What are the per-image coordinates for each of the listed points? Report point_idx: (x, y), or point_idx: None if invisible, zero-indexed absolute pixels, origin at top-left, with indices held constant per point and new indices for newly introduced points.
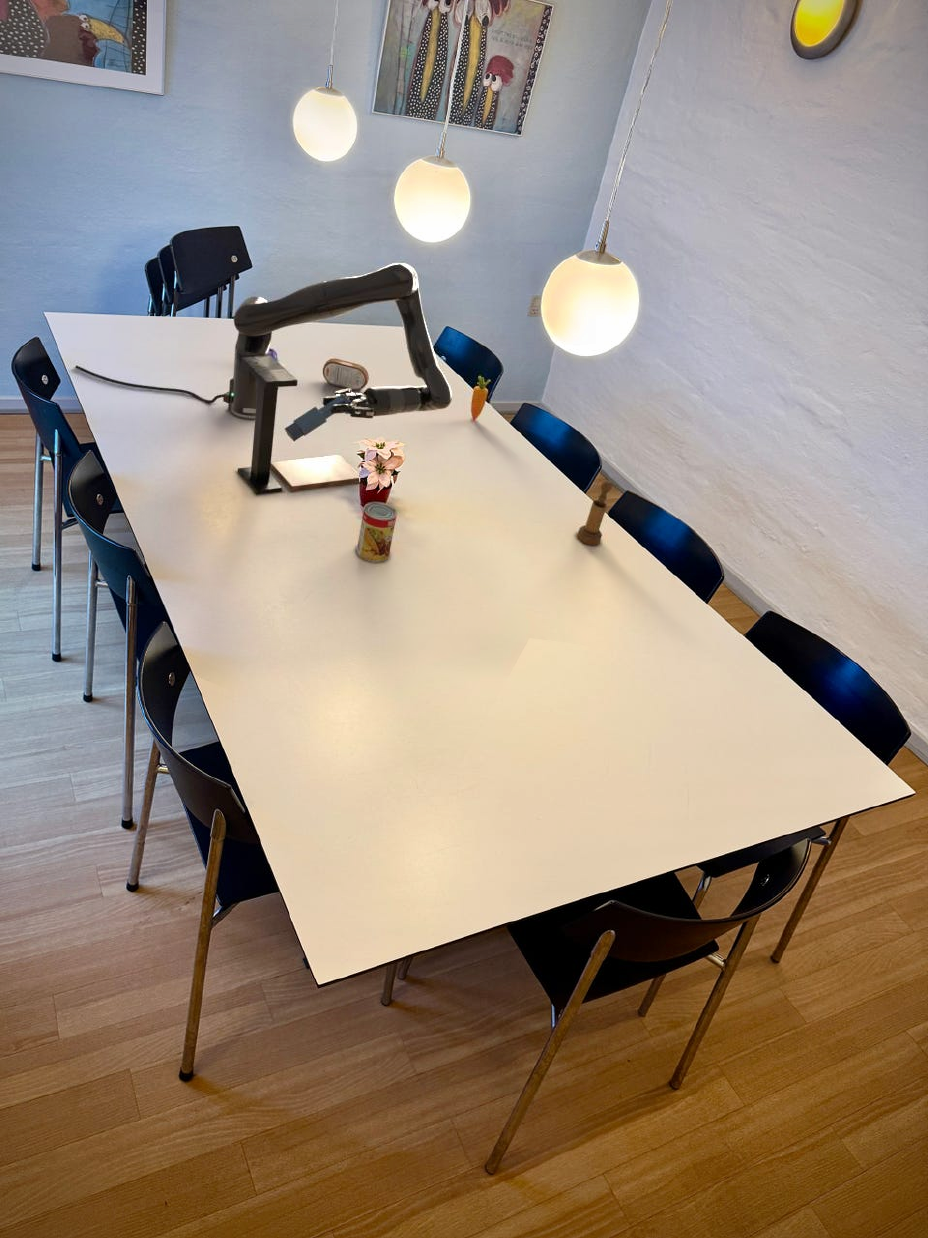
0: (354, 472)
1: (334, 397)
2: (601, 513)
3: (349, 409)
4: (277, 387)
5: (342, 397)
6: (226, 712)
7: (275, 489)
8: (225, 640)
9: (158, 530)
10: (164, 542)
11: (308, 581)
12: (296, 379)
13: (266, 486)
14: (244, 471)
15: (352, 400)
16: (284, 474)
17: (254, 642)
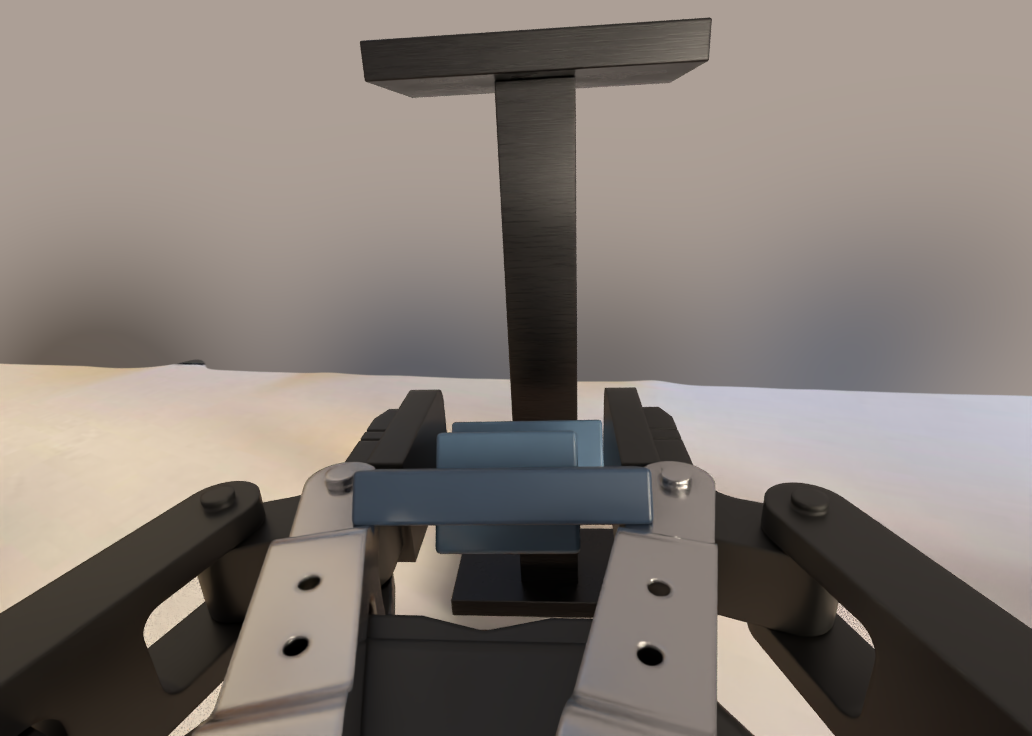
0: None
1: (615, 438)
2: None
3: (289, 511)
4: (498, 143)
5: (551, 466)
6: (32, 368)
7: (456, 581)
8: (115, 388)
9: (427, 388)
10: (387, 387)
11: (44, 503)
12: (370, 40)
13: (483, 558)
14: (607, 537)
15: (491, 637)
16: None
17: (65, 405)
